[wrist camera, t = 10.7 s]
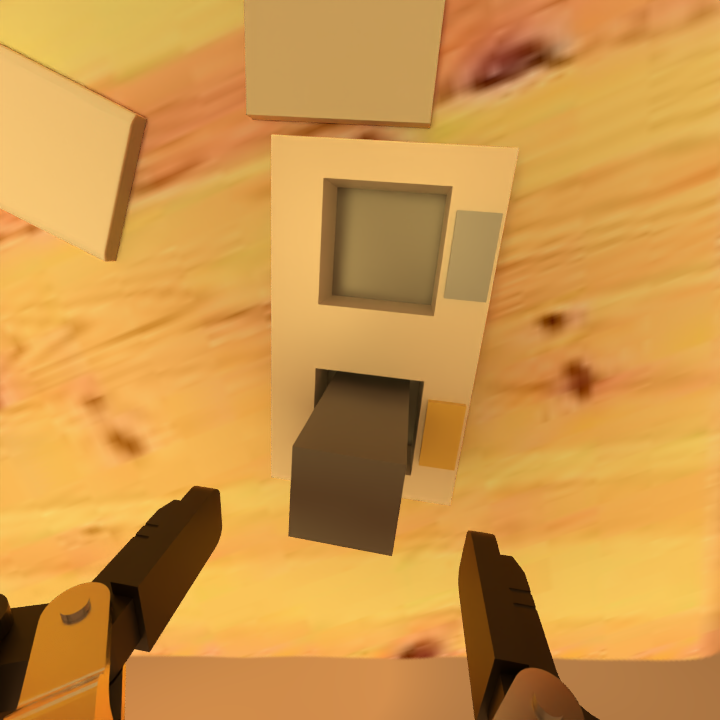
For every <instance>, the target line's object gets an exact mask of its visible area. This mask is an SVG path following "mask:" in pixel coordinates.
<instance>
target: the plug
mask: <svg viewBox="0 0 720 720" xmlns="http://www.w3.org/2000/svg"><path fill="white" fill-rule="evenodd" d="M409 389H410V380H408V379H400V378H392V377H384V376H376V375H368V374H360V373H352V372H344V371H336V373H335V375H334V377H333V378H332V380H331V382H330V383H329V385H328V387H327V388H326V390H325V392H324V393H323V395H322V397H321V399H320V400H319V402H318V404H317V405H316V407H315V409H314V410H313V412H312V414H311V415H310V417H309V419H308V421H307V422H306V424H305V426H304V427H303V429H302V431H301V432H300V434H299V436H298V437H297V439H296V441H295V443H294V444H293V446H292V466H291V489H290V513H289V536H290V537H295V538H301V539H306V540H311V541H316V542H321V543H327V544H332V545H337V546H342V547H348V548H353V549H358V550H363V551H368V552H374V553H379V554H384V555H389V556H392V553H393V547H394V541H395V534H396V528H397V522H398V516H399V510H400V504H401V497H402V491H403V485H404V479H405V473H406V467H407V444H408V416H409Z"/></svg>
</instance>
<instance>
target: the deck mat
mask: <svg viewBox="0 0 720 720" xmlns="http://www.w3.org/2000/svg"><path fill="white" fill-rule="evenodd" d="M444 6H445V0H244V23H245V75H246V115H248V116H249V117H250V118H252V119H255V120H275V121H295V122H316V123H336V124H356V125H376V126H397V127H417V128H430V122H431V113H432V105H433V97H434V89H435V80H436V72H437V64H438V56H439V47H440V39H441V31H442V23H443V14H444Z"/></svg>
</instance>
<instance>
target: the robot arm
mask: <svg viewBox="0 0 720 720" xmlns="http://www.w3.org/2000/svg"><path fill="white" fill-rule="evenodd" d="M221 531H222V517H221V503H220V492H219V490H218V489H213V488H206V487H200V486H194V487H192V488H191V489H190V490H189V492H188V493H187V494H186V495H185V496H184V497H183V498H182V500H181V501H179V500H173V501H172V502H170V503H168V504H167V505H165V506H164V507H162V508H160V509H159V510H158V511H157V512H156V513H155V514H154V515H153V516H152V517H151V518H150V519H149V520H148V521H147V523H146V525H145V526H143V527H142V528H141V529H140V530H139V531H138V532H137V533H136V536H135V537H133V538H132V539H131V540H130V541H129V542H128V543H127V544H126V545H125V546H124V548H123V549H122V550H121V551H120V552H119V553H118V554H117V555H116V556H115V557H114V558H113V559H112V561H111V562H110V563H109V564H108V565H107V566H106V567H105V568H104V569H103V570H102V571H101V573H100V574H99V575H98V576H97V577H96V578H95V579H94V580H93V581H92V582H89V583H83V584H80V585H77V586H74V587H72V588H70V589H68V590H66V591H65V592H63V593H61V594H60V595H59V596H57V597H56V598H55V599H54V600H52V601H51V602H50V603H48V604H41V605H33V606H25V607H18V608H10V606H9V603H8V600H7V598H6V597H5V596H4V595H2V594H0V720H125V686H126V664H125V662H126V661H127V659H128V658H129V656H130V655H131V653H132V652H133V650H134V649H137V650H142V651H147V652H150V651H151V649H152V648H153V646H154V644H155V643H156V641H157V640H158V638H159V636H160V635H161V633H162V632H163V630H164V628H165V627H166V625H167V624H168V622H169V621H170V619H171V617H172V616H173V614H174V613H175V611H176V609H177V608H178V606H179V605H180V603H181V601H182V600H183V598H184V597H185V595H186V594H187V592H188V590H189V589H190V587H191V586H192V584H193V582H194V581H195V579H196V578H197V576H198V574H199V573H200V571H201V570H202V568H203V567H204V565H205V563H206V562H207V560H208V559H209V557H210V555H211V554H212V552H213V551H214V549H215V547H216V546H217V544H218V541H219V539H220V536H221ZM458 586H459V596H460V604H461V612H462V620H463V628H464V636H465V644H466V652H467V660H468V668H469V677H470V684H471V693H472V700H473V709H474V717H475V720H599V719H598V718H596V717H594V716H593V715H591V714H590V713H589V712H587V711H586V710H585V709H584V708H583V707H581V706H580V705H579V703H578V701H577V699H576V698H575V696H574V695H573V693H572V692H571V691H570V689H568V687H567V686H566V685H565V684H564V683H563V682H562V681H561V680H560V678H559V676H558V673H557V671H556V668H555V665H554V662H553V659H552V656H551V653H550V650H549V646H548V643H547V640H546V637H545V634H544V631H543V628H542V625H541V622H540V619H539V616H538V613H537V610H536V609H535V607H536V606H535V603H534V600H533V597H532V595H531V593H530V592H531V591H530V588H529V585H528V582H527V579H526V575H525V573H524V572H523V570H522V569H521V567H520V566H519V565H518V563H517V562H516V561H515V559H514V558H513V557H512V556H506V555H500V552H499V548H498V545H497V541H496V538H495V536H494V535H493V534H488V533H482V532H476V531H470V530H469V531H468V532H467V535H466V540H465V544H464V549H463V553H462V558H461V562H460V567H459V577H458Z"/></svg>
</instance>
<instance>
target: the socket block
mask: <svg viewBox="0 0 720 720" xmlns="http://www.w3.org/2000/svg"><path fill="white" fill-rule="evenodd" d="M518 152H519V148H514V147H495V146H476V145H458V144H439V143H421V142H402V141H383V140H365V139H346V138H328V137H309V136H290V135H272V134H271V477H273V478H279V479H286V480H291V466H292V446H293V444H294V443H295V441H296V439H297V437H298V436H299V434H300V432H301V431H302V429H303V427H304V426H305V424H306V422H307V421H308V419H309V417H310V415H311V414H312V412H313V410H314V409H315V407H316V405H317V404H318V402H319V400H320V399H321V397H322V395H323V393H324V392H325V390H326V388H327V387H328V385H329V383H330V382H331V380H332V378H333V377H334V375H335V373H336V371H344V372H352V373H360V374H368V375H376V376H384V377H392V378H400V379H408V380H410V389H409V416H408V444H407V467H406V473H405V479H404V485H403V491H402V497H401V498H405V499H411V500H418V501H424V502H430V503H436V504H443V505H449V506H450V505H451V500H452V495H453V489H454V484H455V479H456V474H457V469H458V463H459V458H460V453H461V448H462V443H463V438H464V432H465V427H466V422H467V417H468V412H469V406H470V401H471V396H472V391H473V386H474V380H475V375H476V370H477V365H478V360H479V354H480V349H481V344H482V339H483V334H484V328H485V323H486V318H487V313H488V308H489V302H490V297H491V292H492V287H493V282H494V276H495V271H496V266H497V261H498V256H499V251H500V245H501V240H502V235H503V230H504V225H505V219H506V214H507V209H508V204H509V199H510V193H511V188H512V183H513V178H514V173H515V167H516V162H517V157H518Z"/></svg>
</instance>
